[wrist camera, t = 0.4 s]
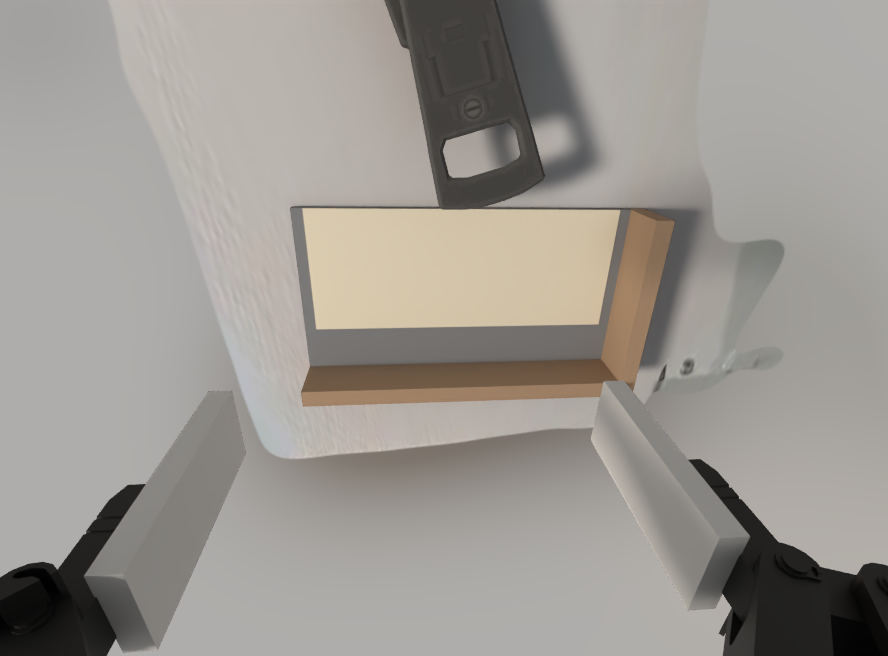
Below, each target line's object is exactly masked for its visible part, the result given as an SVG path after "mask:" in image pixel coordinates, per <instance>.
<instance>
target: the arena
mask: <svg viewBox="0 0 888 656" xmlns="http://www.w3.org/2000/svg"><path fill="white" fill-rule="evenodd" d="M290 212H291V220H292V228H293V235H294V243H295V251H296V259H297V267H298V275H299V282H300V290H301V298H302V306H303V314H304V322H305V330H306V337H307V345H308V353H309V361H310V368H309V371H308V374H307V377H306V380H305V382H304V385H303V388H302V391H301V396H302V403H303V406H331V405H362V404H393V403H423V402H454V401H485V400H515V399H546V398H577V397H600V396H601V391H602V387H603V382H604V381H625V383H626V384H627V385H628V386H629V388H630V389H631V390H632V391H633V389H634V385H635V381H636V377H637V373H638V369H639V365H640V361H641V357H642V353H643V349H644V345H645V341H646V337H647V333H648V329H649V325H650V321H651V317H652V313H653V309H654V305H655V301H656V297H657V293H658V289H659V285H660V281H661V277H662V273H663V269H664V264H665V260H666V256H667V252H668V248H669V244H670V240H671V236H672V232H673V228H674V224H675V221H674V220H671V219H669V218H666V217H664V216H661V215H659V214H656V213H654V212H651V211H649V210H646V209H619V208H473V209H467V210H443V209H441V208H440V207H291V208H290Z"/></svg>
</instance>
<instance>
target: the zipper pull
mask: <svg viewBox="0 0 888 656" xmlns="http://www.w3.org/2000/svg"><path fill="white" fill-rule="evenodd" d="M385 3H386V6H387V9H388V11H389V14H390V17H391V20H392V22H393V25H394V28H395V30H396V33H397V36H398V38H399V41H400V44H401V46H402V47H404V48H407V49H409V52H410V57H411V62H412V67H413V72H414V77H415V83H416V88H417V93H418V98H419V103H420V109H421V114H422V119H423V124H424V129H425V135H426V140H427V146H428V152H429V158H430V163H431V168H432V173H433V178H434V183H435V188H436V194H437V199H438V204H439V207H440V208H441V209H443V210H467V209H473V208H478V207H484V206H488V205H491V204H495V203H498V202H501V201H505V200H507V199H510V198H512V197H514V196H517V195H519V194H522V193H524V192H525V191H527V190H528V189H530V188H532V187H533V186H535V185H536V184H538V183H540V182H541V181H543V179H544V177H545V175H544V171H543V167H542V164H541V160H540V156H539V153H538V149H537V145H536V142H535V138H534V134H533V130H532V127H531V123H530V120H529V117H528V114H527V111H526V107H525V104H524V100H523V97H522V93H521V89H520V86H519V82H518V79H517V75H516V71H515V68H514V64H513V61H512V57H511V53H510V50H509V46H508V43H507V39H506V35H505V32H504V28H503V25H502V21H501V17H500V14H499V10H498V7H497V3H496V0H385ZM506 122H508V123H509V124H510V125H511V126H512V127H513V128H514V129H515V130H516V135H517V140H518V145H519V149H520V156H519V158H518V159H517V160H515V161H513V162H512V163H510V164H508V165H507V166H505V167H502V168H499V169H495V170H492V171H489V172H485V173H482V174H478V175H475V176H472V177H468V178H452V177H451V176H449V174H448V170H447V166H446V162H445V158H444V154H443V148H444V145H445V142H446V140H449V139H452V138H456V137H459V136H462V135H466V134H469V133H473V132H476V131H479V130H483V129H486V128H489V127H493V126H496V125H499V124H503V123H506Z"/></svg>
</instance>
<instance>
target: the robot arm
mask: <svg viewBox="0 0 888 656" xmlns="http://www.w3.org/2000/svg"><path fill="white" fill-rule="evenodd" d="M591 441H592V443H593V445H594V447H595V448H596V450H597V452H598V454H599V455H600V457H601V459H602V461H603V462H604V464H605V466H606V468H607V469H608V471H609V473H610V475H611V477H612V478H613V480H614V482H615V484H616V485H617V487H618V489H619V491H620V492H621V494H622V496H623V498H624V499H625V501H626V503H627V505H628V506H629V508H630V510H631V512H632V514H633V515H634V517H635V519H636V521H637V522H638V524H639V526H640V528H641V529H642V531H643V533H644V535H645V536H646V538H647V540H648V542H649V543H650V545H651V547H652V549H653V550H654V552H655V554H656V556H657V558H658V559H659V561H660V563H661V565H662V566H663V568H664V570H665V572H666V573H667V575H668V577H669V579H670V580H671V582H672V584H673V586H674V588H675V589H676V591H677V593H678V595H679V596H680V598H681V600H682V602H683V603H684V605H685V607H686V609H687V610H701V609H714V608H716V606H717V604H718V602H719V599H720V597H721V595H722V594H723V595H724V597H725V598H726V600H727V601H728V603H729V604H730V606H731V607H732V609H731V610H730V613H729V614H728V616H727V618H726V620H725V622H724V624H723V626H722V628H721V630H720V632H719V634H721V635H722V636H724V635H725V633H726V635H725V643H724V651H723V656H888V566H886V565H883V564H877V563H869V564H865V565H863V566H862V568H861V569H860V571H859V572H858V574H857V575H853V574H849V573H843V572H840V571H835V570H830V569H826V568H822V567H820V566H819V565H818V564H817V562H816V561H814V560H813V559H812V558H811V557H809V556H808V555H807V554H806V553H804V552H802V551H800V550H798V549H797V548H795V547H793V546H790V545H787V544H784V543H779V542H778V541H777V540H776V539H775V538H774V537H773V535H772V534H771V533H770V532H769V531H768V530H767V528H766V527H765V526H764V525H763V524H762V523H761V521H760V520H759V519H758V518H757V517H756V516H755V515H754V513H752V511H751V510H750V509H749V508H748V506H747V505H746V504H745V503H744V502H743V501H742V500H741V499H739V496H738V495H737V494H736V493H735V492H734V490H733V489H732V488H729V484H728V483H727V482H726V481H725V480H724V479H723V478H722V476H721V475H720V474H719V473H718V472H717V471H716V470H715V469H713V468H711V467H710V466H709V465H708V464H706V463H705V462H703V461H702V460H701V459H695V460H688V459H687V458H686V457H685V455H684V454H683V453H682V452H681V451H680V449H679V448H678V447H677V446H676V444H675V443H674V442H673V441H672V439H671V438H670V437H669V436H668V434H667V433H666V432H665V431H664V430H663V428H662V427H661V426H660V425H659V423H658V422H657V421H656V420H655V419H654V417H653V416H652V415H651V413H649V411H648V410H647V409H646V408H645V406H644V405H643V404H642V402H641V401H640V400H639V399H638V397H637V396H636V395H635V394H634V393H633V391H632V390H631V389H630V388H629V386H628V385H627V384H626V383H625V381H604V382H603V387H602V391H601V396H600V400H599V405H598V409H597V414H596V418H595V423H594V427H593V432H592V436H591ZM245 454H246V451H245V447H244V442H243V437H242V433H241V429H240V424H239V419H238V415H237V411H236V406H235V402H234V397H233V393H232V391H208V393H207V395H206V396H205V397H204V399H203V400H202V402H201V403H200V405H199V406H198V408H197V409H196V411H195V412H194V414H193V415H192V417H191V418H190V420H189V421H188V423H187V424H186V426H185V427H184V429H183V430H182V431H181V433H180V434H179V436H178V438H177V439H176V440H175V442H174V443H173V445H172V446H171V448H170V449H169V451H168V452H167V454H166V455H165V457H164V458H163V460H162V461H161V463H160V464H159V466H158V467H157V469H156V470H155V472H154V473H153V474H152V476H151V477H150V479H149V480H148V482H147V483H146V484H139V485H127V486H126V487H125V488H124V489H123V490H121V491H120V492H119V493H117V494H116V495H115V496H114V497H113V498H111V499H110V500H109V501H108V503H107V504H106V505H105V506H104V508H103V509H102V511H101V512H100V513H99V515H98V516H97V519H96V520H95V521H94V522H93V523H92V524H91V526H90V527H89V528H88V530H87V531H86V534H85V535H83V536H82V538H81V539H80V540H79V542H78V543H77V544H76V546H75V547H74V548H73V550H72V551H71V552H70V554H69V555H68V556H67V558H66V559H65V560H64V562H63V563H62V565H61V566H60V567H59V569H58V570H57V569H56V568H55V566H54V565H53V564H49V563H45V562H39V563H31V564H27V565H25V566H22V567H19V568H17V569H14V570H12V571H10V572H8V573H7V574H5V575H3V576H2V577H0V656H107V654H108V652H109V650H110V648H111V647H112V645H113V643H114V641H115V639H116V640H117V642H118V644H119V646H120V648H121V650H122V651H123V653H126V652H140V651H153V650H158V649H159V646H160V644H161V642H162V640H163V637H164V635H165V633H166V631H167V629H168V626H169V624H170V621H171V620H172V617H173V615H174V612H175V610H176V608H177V606H178V604H179V602H180V599H181V597H182V595H183V593H184V591H185V588H186V586H187V584H188V582H189V579H190V577H191V575H192V573H193V570H194V568H195V566H196V564H197V561H198V559H199V557H200V555H201V553H202V550H203V548H204V546H205V543H206V541H207V539H208V537H209V535H210V532H211V530H212V528H213V526H214V523H215V521H216V519H217V517H218V514H219V512H220V510H221V508H222V506H223V503H224V501H225V499H226V497H227V494H228V492H229V490H230V488H231V485H232V483H233V481H234V479H235V476H236V474H237V472H238V470H239V468H240V465H241V463H242V461H243V459H244V456H245Z"/></svg>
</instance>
